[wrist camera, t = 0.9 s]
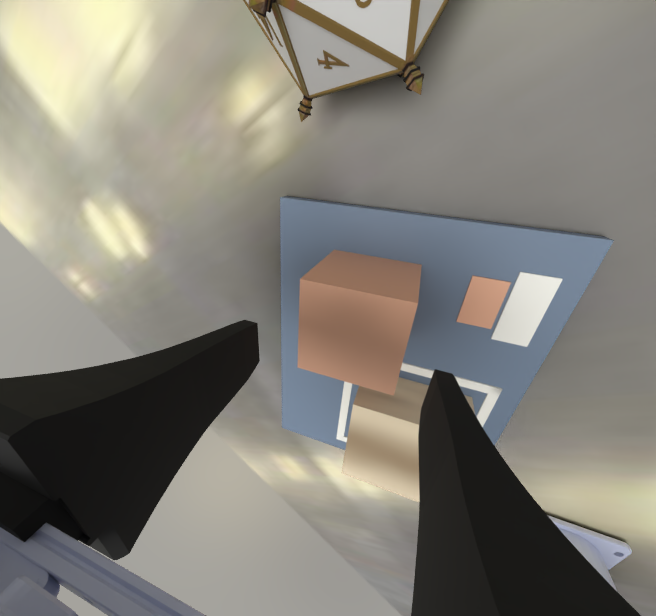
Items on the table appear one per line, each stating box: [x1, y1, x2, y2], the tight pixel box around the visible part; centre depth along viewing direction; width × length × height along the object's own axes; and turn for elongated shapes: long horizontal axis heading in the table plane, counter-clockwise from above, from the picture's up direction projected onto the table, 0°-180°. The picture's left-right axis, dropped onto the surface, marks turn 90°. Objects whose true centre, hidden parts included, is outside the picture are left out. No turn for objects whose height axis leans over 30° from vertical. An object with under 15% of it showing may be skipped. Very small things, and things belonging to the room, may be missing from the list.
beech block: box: [341, 377, 475, 503], centre depth 19 cm, size 7×7×4 cm
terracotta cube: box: [297, 250, 422, 396], centre depth 15 cm, size 5×5×5 cm
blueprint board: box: [280, 196, 614, 450], centre depth 19 cm, size 20×16×1 cm
